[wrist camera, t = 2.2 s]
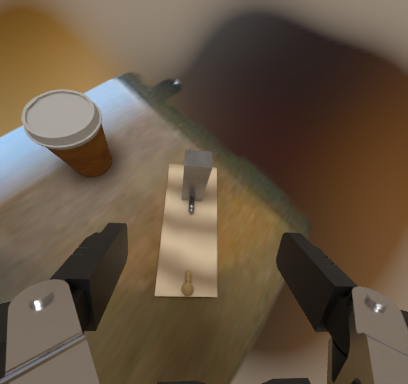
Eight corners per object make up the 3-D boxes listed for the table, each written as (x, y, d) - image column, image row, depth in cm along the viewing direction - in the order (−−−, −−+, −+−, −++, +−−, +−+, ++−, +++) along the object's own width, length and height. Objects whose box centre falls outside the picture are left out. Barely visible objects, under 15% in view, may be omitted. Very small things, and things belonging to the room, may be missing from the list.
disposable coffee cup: (102, 134, 39) (74, 78, 28) (130, 165, 37) (112, 118, 26) (55, 158, 36) (2, 105, 25) (83, 195, 34) (39, 154, 23)
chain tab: (184, 166, 37) (187, 123, 27) (202, 167, 37) (212, 126, 27) (180, 213, 33) (182, 184, 23) (201, 215, 33) (212, 186, 23)
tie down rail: (169, 168, 38) (169, 156, 34) (215, 171, 39) (219, 160, 35) (155, 295, 29) (152, 297, 25) (215, 296, 30) (221, 298, 26)
